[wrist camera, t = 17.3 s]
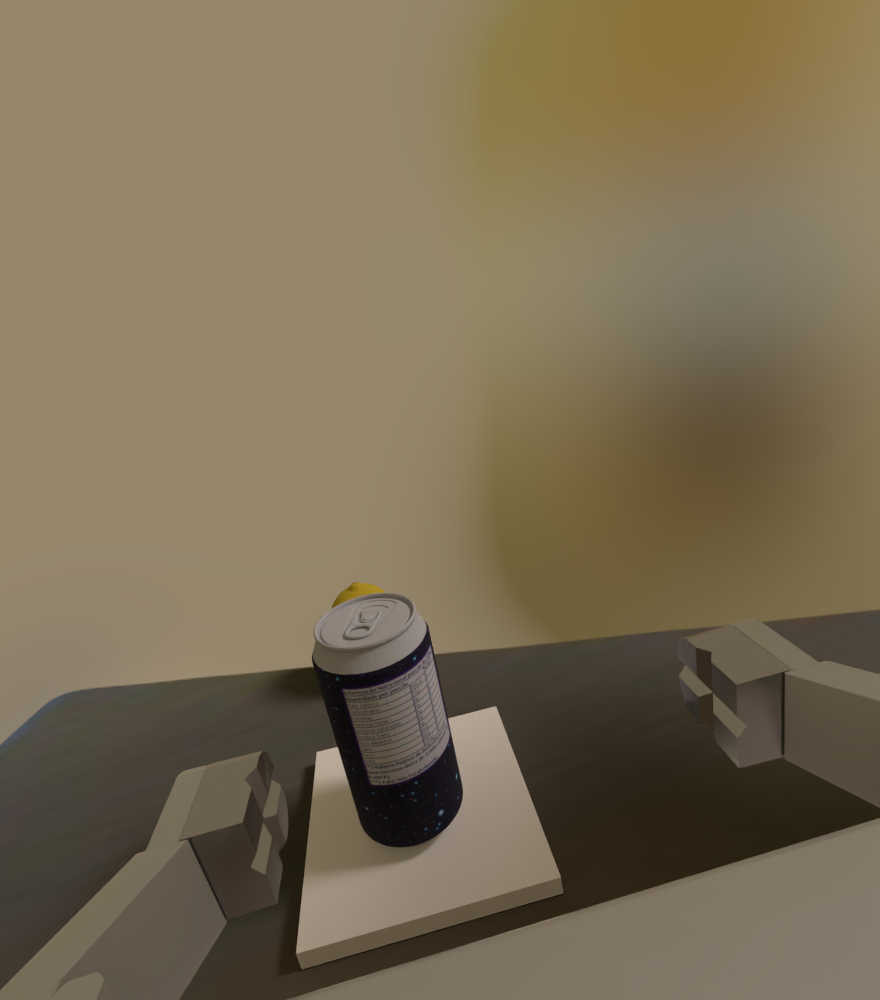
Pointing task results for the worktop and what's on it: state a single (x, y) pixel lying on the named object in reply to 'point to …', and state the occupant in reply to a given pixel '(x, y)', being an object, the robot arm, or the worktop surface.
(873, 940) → the robot arm
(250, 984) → the worktop surface
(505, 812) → the mat
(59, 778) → the worktop surface
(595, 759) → the worktop surface
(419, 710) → the beverage can
